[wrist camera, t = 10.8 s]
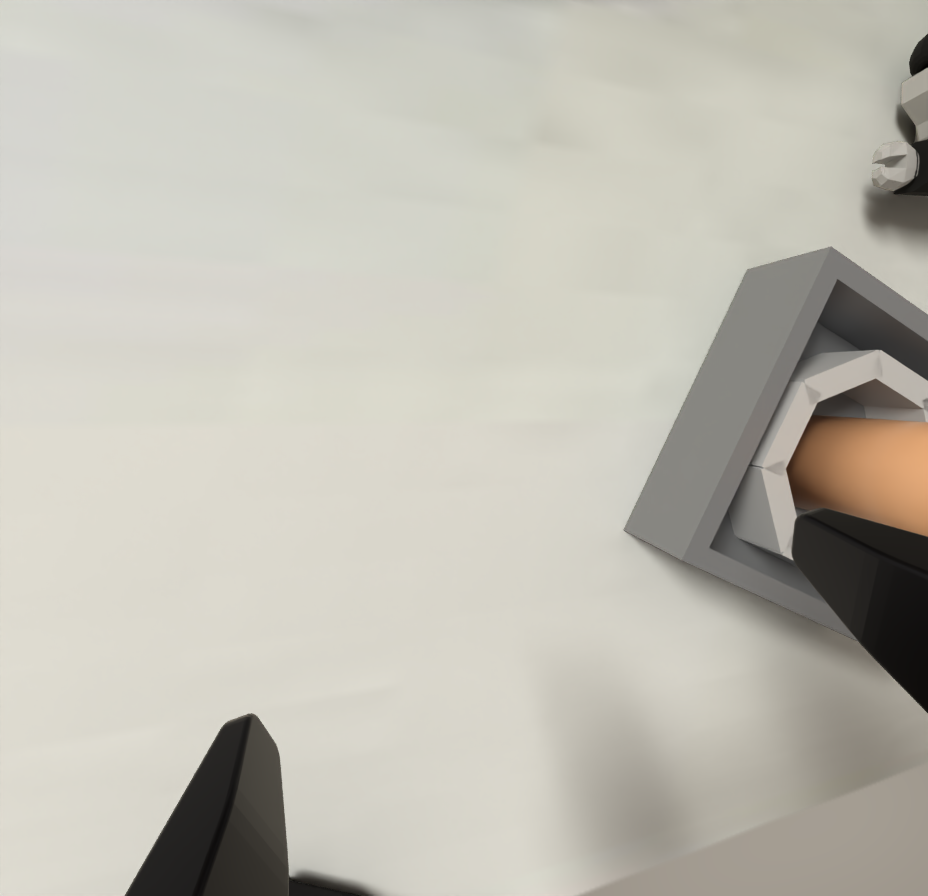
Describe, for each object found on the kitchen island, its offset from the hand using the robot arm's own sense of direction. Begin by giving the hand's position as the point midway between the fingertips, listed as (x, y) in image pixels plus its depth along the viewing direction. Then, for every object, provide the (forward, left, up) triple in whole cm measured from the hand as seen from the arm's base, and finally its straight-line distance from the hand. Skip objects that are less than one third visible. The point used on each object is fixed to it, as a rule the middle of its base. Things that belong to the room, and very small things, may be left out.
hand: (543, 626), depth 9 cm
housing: (+8, -15, -13) cm, 21 cm away
